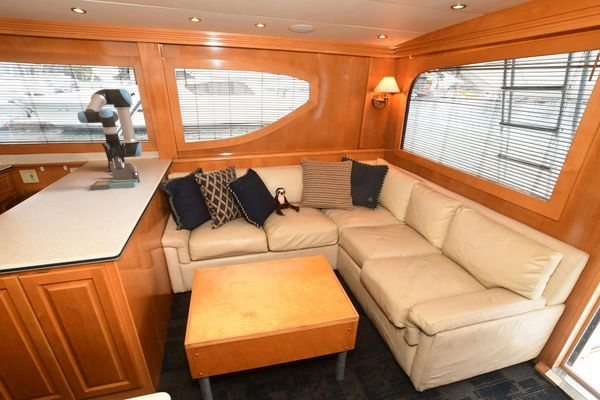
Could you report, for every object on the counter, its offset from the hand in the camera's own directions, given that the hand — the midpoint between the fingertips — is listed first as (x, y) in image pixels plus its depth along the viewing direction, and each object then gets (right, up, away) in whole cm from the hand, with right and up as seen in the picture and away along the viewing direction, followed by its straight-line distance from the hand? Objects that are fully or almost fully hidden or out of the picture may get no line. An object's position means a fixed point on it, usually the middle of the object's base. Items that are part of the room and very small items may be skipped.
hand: (119, 167), depth 190 cm
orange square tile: (-13, -12, +2) cm, 18 cm away
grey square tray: (-13, -14, +2) cm, 20 cm away
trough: (0, -13, +5) cm, 14 cm away
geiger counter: (-11, -7, +21) cm, 25 cm away
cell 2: (+4, -10, +14) cm, 17 cm away
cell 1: (0, -1, 0) cm, 1 cm away
